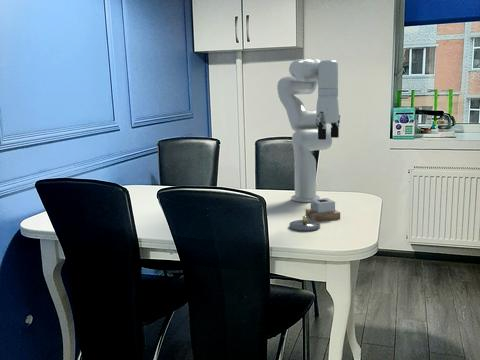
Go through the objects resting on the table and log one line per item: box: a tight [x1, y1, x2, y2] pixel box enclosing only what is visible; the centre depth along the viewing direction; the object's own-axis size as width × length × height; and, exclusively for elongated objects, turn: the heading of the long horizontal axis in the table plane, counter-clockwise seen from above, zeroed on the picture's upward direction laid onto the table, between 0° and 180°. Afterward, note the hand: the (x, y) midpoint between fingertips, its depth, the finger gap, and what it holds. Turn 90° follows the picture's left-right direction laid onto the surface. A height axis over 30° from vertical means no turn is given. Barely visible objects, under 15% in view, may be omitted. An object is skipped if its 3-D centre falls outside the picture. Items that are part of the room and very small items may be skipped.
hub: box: [289, 215, 321, 232], centre depth 175 cm, size 11×11×4 cm
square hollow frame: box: [310, 197, 336, 214], centre depth 187 cm, size 7×7×4 cm
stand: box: [305, 208, 341, 222], centre depth 187 cm, size 10×10×4 cm
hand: (328, 138), depth 186 cm, fingers open, 9 cm apart
